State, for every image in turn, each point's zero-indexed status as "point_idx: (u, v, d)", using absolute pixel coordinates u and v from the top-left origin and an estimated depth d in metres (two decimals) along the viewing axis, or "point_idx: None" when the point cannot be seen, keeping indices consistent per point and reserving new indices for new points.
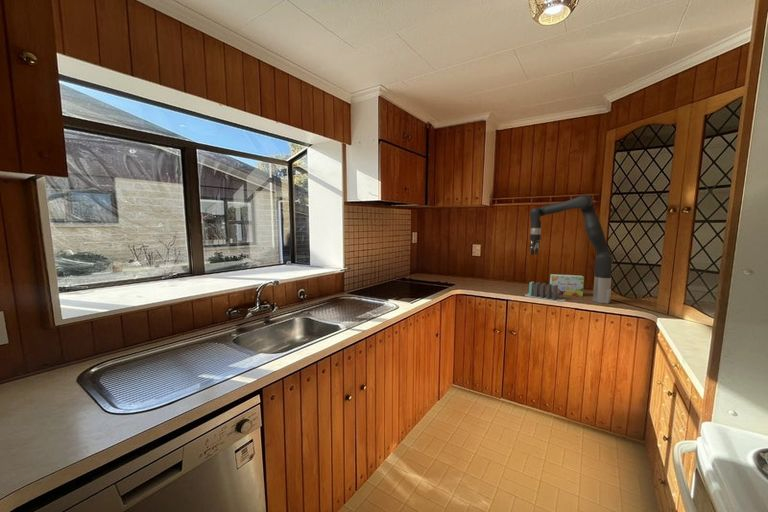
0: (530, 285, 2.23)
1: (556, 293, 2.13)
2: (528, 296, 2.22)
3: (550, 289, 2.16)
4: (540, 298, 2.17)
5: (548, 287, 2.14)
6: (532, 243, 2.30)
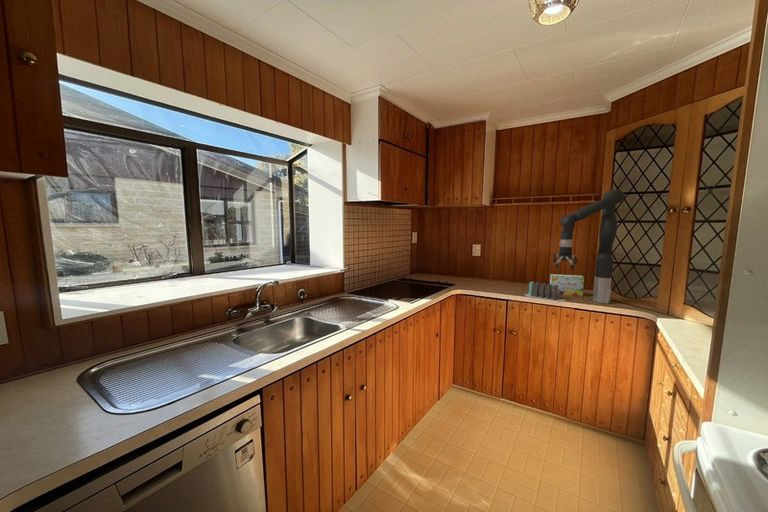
0: (530, 285, 2.23)
1: (556, 293, 2.13)
2: (528, 296, 2.22)
3: (550, 289, 2.16)
4: (540, 298, 2.17)
5: (548, 287, 2.14)
6: None
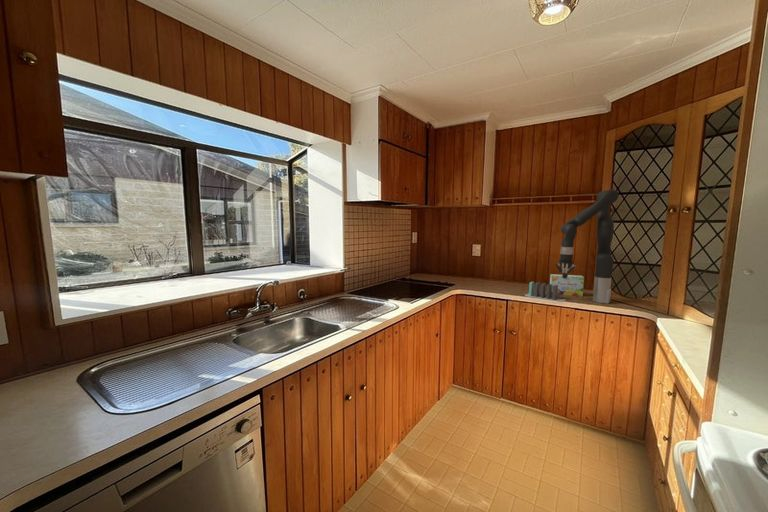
0: (530, 285, 2.23)
1: (556, 293, 2.13)
2: (528, 296, 2.22)
3: (550, 289, 2.16)
4: (540, 298, 2.17)
5: (548, 287, 2.14)
6: None
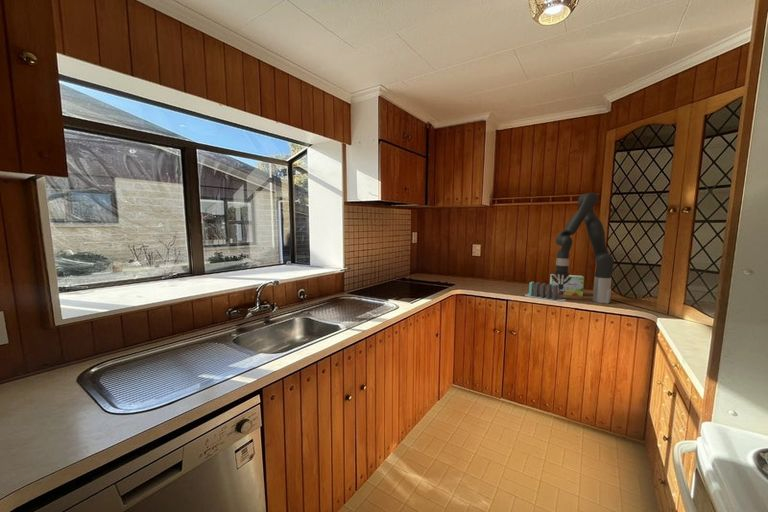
0: (530, 285, 2.23)
1: (556, 293, 2.13)
2: (528, 296, 2.22)
3: (550, 289, 2.16)
4: (540, 298, 2.17)
5: (548, 287, 2.14)
6: (570, 279, 2.06)
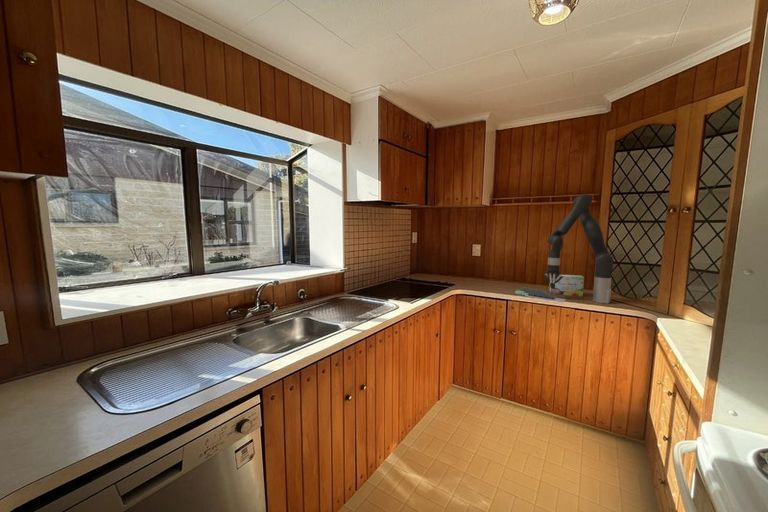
0: (517, 292, 2.30)
1: (547, 293, 2.17)
2: (528, 296, 2.22)
3: None
4: (540, 298, 2.17)
5: (534, 291, 2.21)
6: None
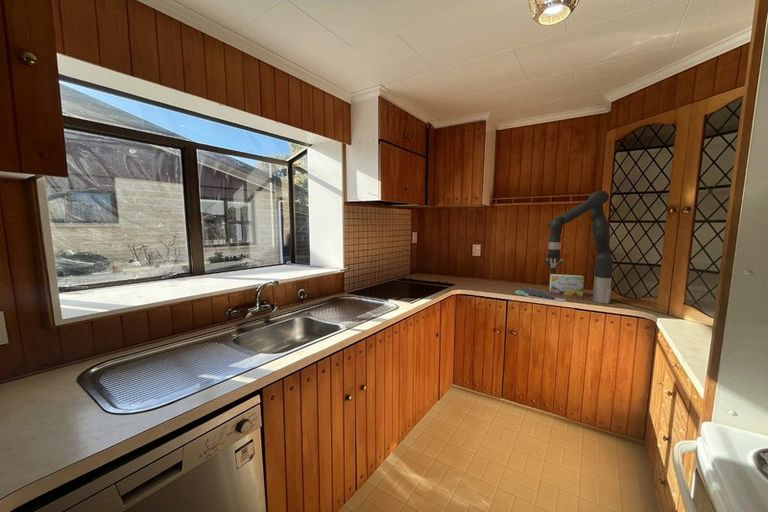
0: (517, 292, 2.30)
1: (547, 293, 2.17)
2: (528, 296, 2.22)
3: None
4: (540, 298, 2.17)
5: (534, 291, 2.21)
6: (562, 262, 2.09)
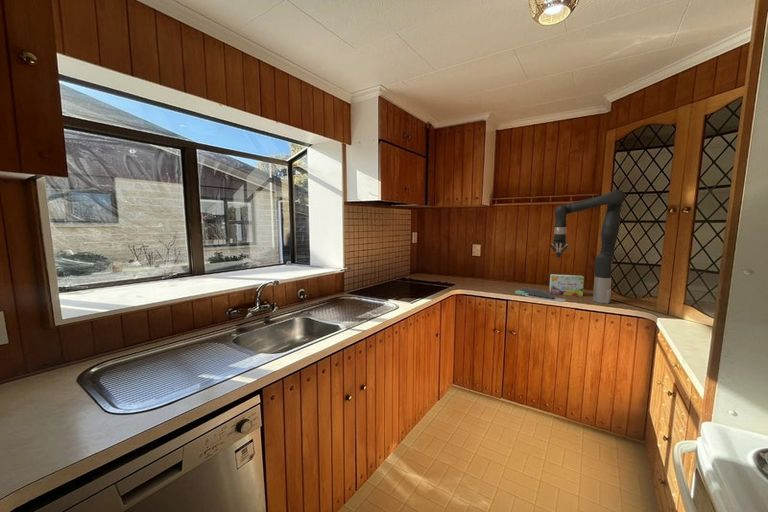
0: (517, 292, 2.30)
1: (547, 293, 2.17)
2: (528, 296, 2.22)
3: None
4: (540, 298, 2.17)
5: (534, 291, 2.21)
6: None
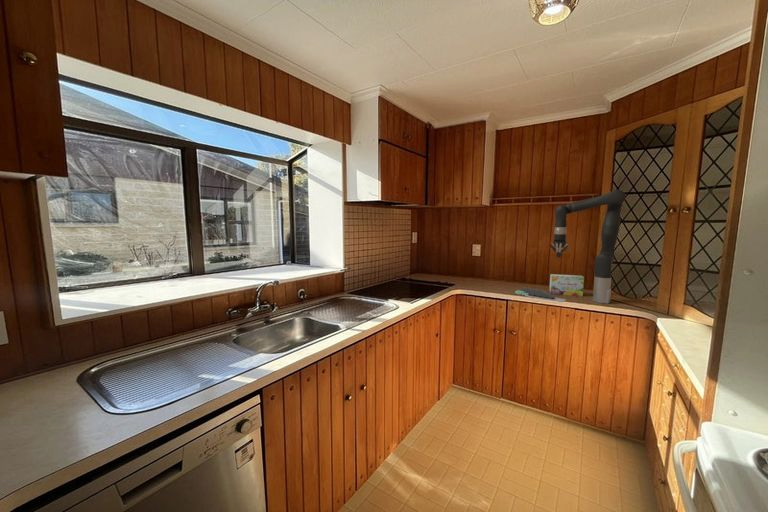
0: (517, 292, 2.30)
1: (547, 293, 2.17)
2: (528, 296, 2.22)
3: None
4: (540, 298, 2.17)
5: (534, 291, 2.21)
6: None
